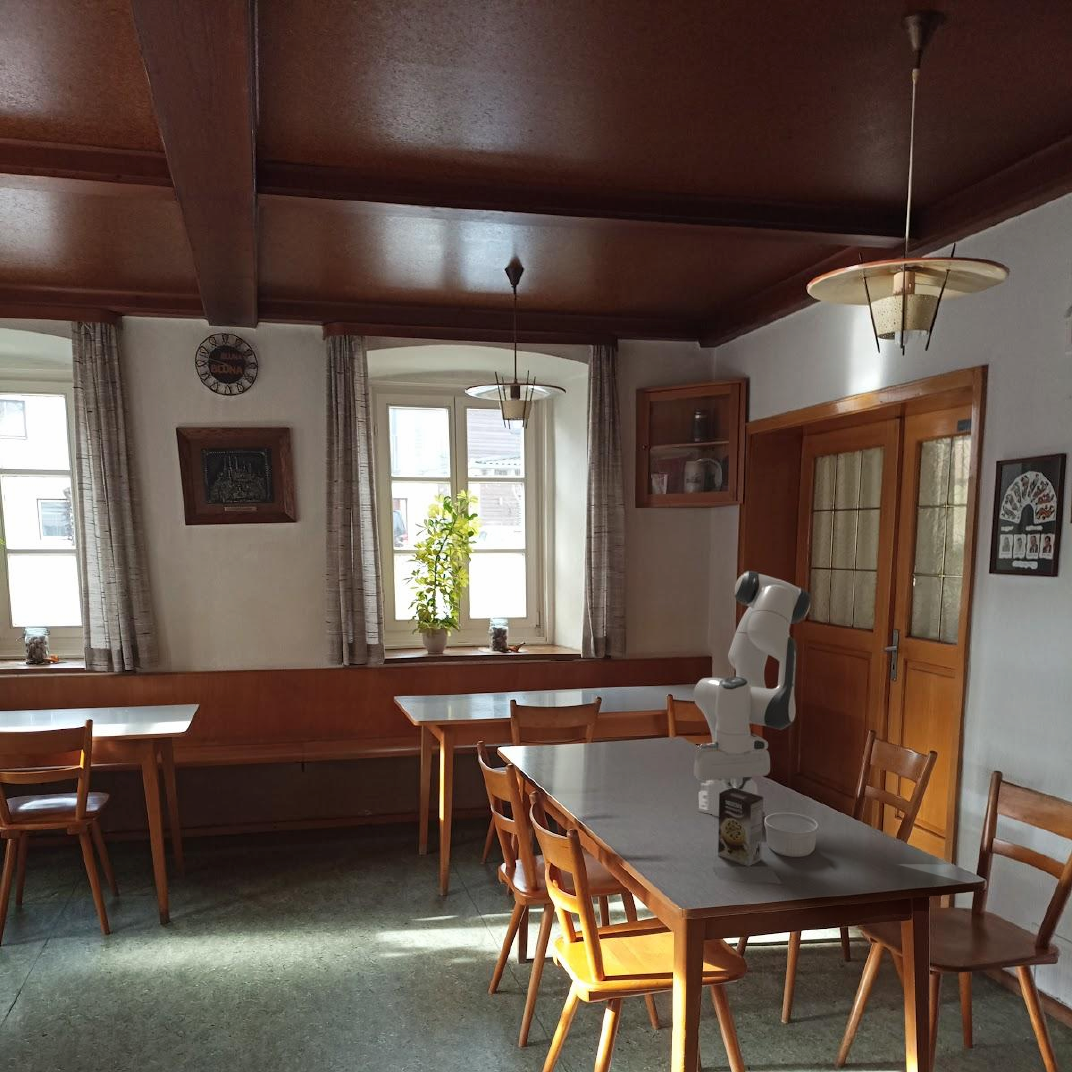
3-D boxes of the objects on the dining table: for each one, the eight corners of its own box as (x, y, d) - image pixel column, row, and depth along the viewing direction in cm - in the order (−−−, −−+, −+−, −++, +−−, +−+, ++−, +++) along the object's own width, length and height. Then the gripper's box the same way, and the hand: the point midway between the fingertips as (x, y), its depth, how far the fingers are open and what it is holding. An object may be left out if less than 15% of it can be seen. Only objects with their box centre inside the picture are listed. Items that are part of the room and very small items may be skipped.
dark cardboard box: (716, 855, 214) (717, 792, 213) (731, 848, 219) (732, 786, 218) (748, 867, 208) (749, 802, 207) (762, 859, 212) (763, 795, 211)
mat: (713, 868, 207) (713, 866, 207) (770, 868, 207) (770, 866, 207) (723, 888, 197) (723, 886, 197) (783, 887, 197) (783, 885, 197)
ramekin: (753, 848, 219) (754, 821, 219) (780, 833, 228) (780, 808, 228) (801, 864, 210) (802, 836, 209) (827, 848, 219) (827, 822, 218)
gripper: (700, 747, 215) (699, 801, 216) (773, 742, 220) (772, 794, 221) (690, 740, 221) (689, 793, 222) (761, 735, 226) (760, 786, 227)
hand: (731, 793), depth 221 cm, fingers closed
